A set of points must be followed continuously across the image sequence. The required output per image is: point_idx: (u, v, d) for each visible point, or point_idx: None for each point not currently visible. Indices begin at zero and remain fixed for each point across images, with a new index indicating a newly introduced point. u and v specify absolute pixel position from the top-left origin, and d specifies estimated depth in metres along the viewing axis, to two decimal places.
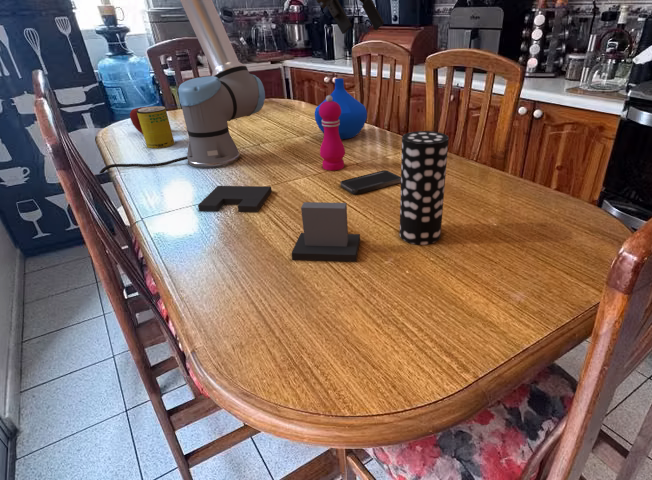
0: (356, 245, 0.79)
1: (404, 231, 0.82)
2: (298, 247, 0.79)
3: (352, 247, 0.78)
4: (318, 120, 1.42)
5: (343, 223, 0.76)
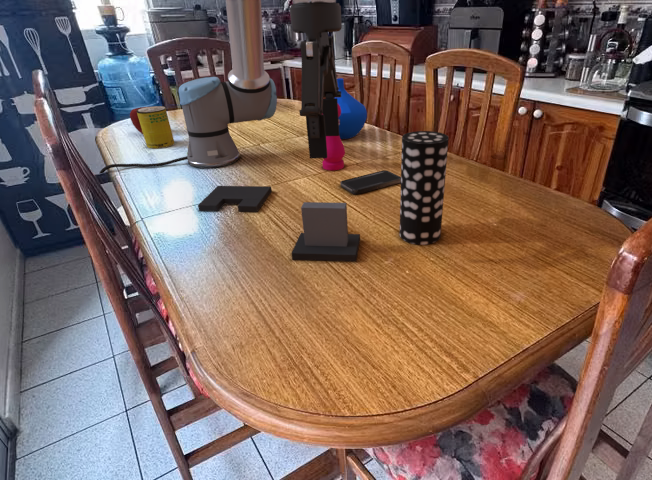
0: (356, 245, 0.79)
1: (404, 231, 0.82)
2: (298, 247, 0.79)
3: (352, 247, 0.78)
4: None
5: (343, 223, 0.76)
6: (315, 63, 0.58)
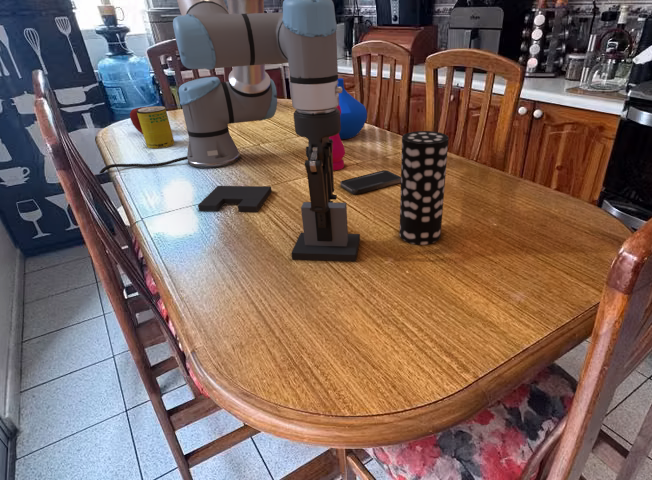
0: (356, 245, 0.79)
1: (404, 231, 0.82)
2: (298, 246, 0.79)
3: (351, 247, 0.78)
4: None
5: (343, 223, 0.76)
6: (319, 177, 0.67)
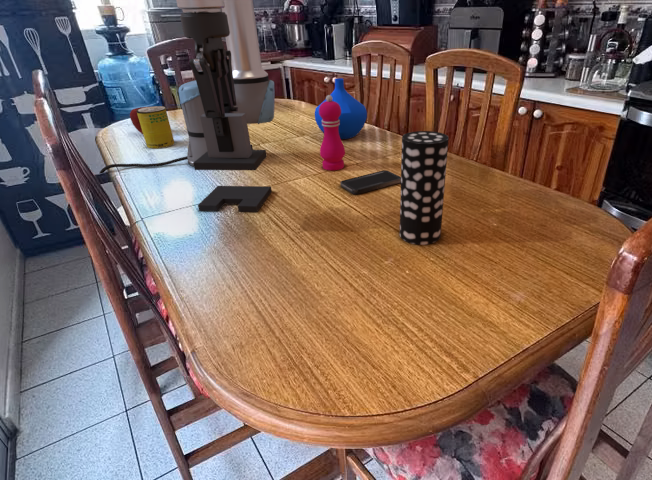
0: (258, 157, 0.82)
1: (404, 231, 0.82)
2: (202, 158, 0.81)
3: (253, 158, 0.81)
4: (318, 120, 1.42)
5: (242, 132, 0.79)
6: (206, 78, 0.70)
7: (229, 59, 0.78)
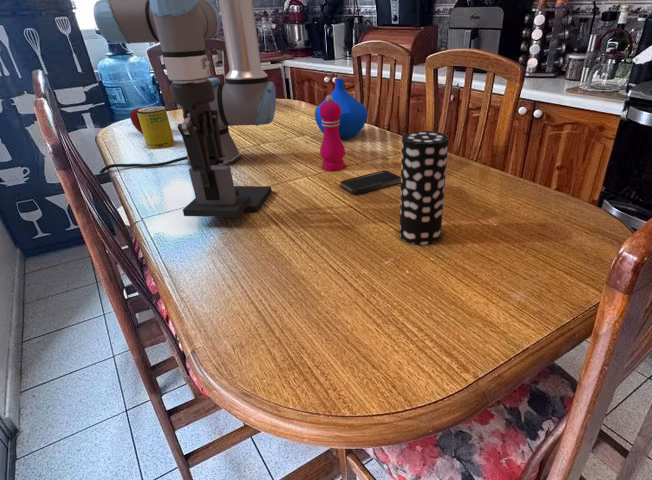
0: (241, 204, 0.90)
1: (404, 231, 0.82)
2: (190, 205, 0.90)
3: (237, 205, 0.89)
4: (318, 120, 1.42)
5: (226, 183, 0.87)
6: (193, 139, 0.78)
7: (216, 117, 0.86)
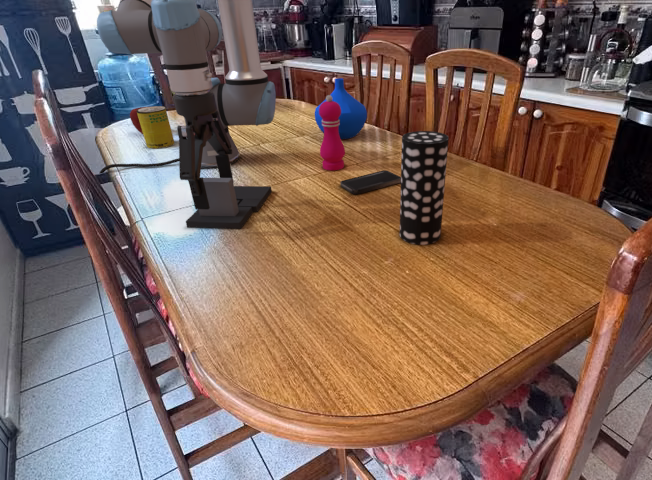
0: (244, 215, 0.91)
1: (404, 231, 0.82)
2: (193, 216, 0.91)
3: (239, 217, 0.90)
4: (318, 120, 1.42)
5: (229, 195, 0.88)
6: (189, 142, 0.77)
7: (218, 118, 0.87)
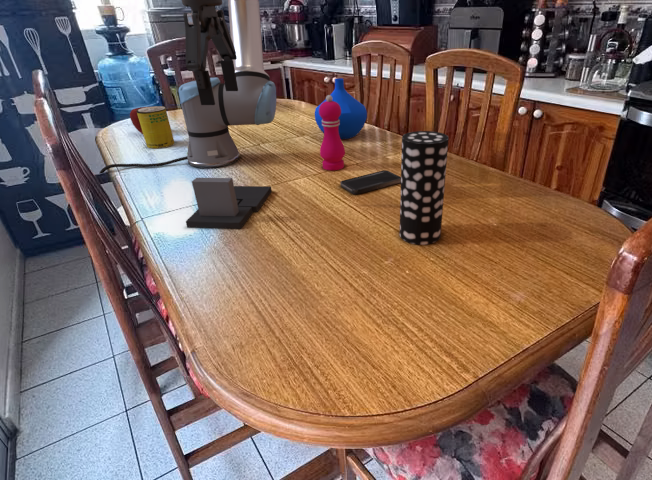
0: (244, 215, 0.91)
1: (404, 231, 0.82)
2: (193, 216, 0.91)
3: (239, 217, 0.90)
4: (318, 120, 1.42)
5: (229, 195, 0.88)
6: (195, 30, 0.78)
7: (223, 19, 0.89)
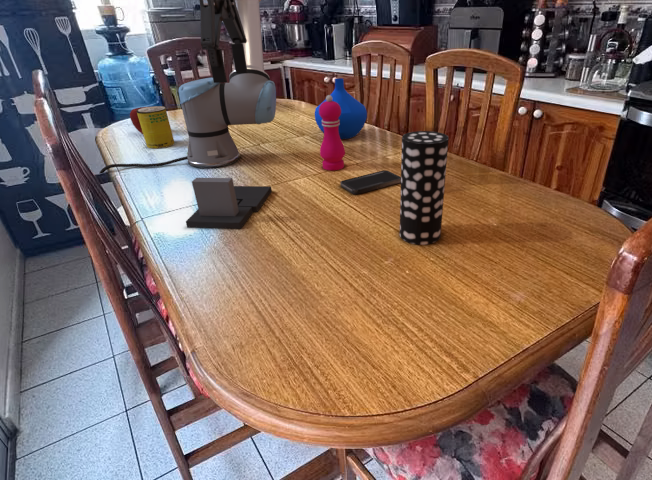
0: (244, 215, 0.91)
1: (404, 231, 0.82)
2: (193, 216, 0.91)
3: (239, 217, 0.90)
4: (318, 120, 1.42)
5: (229, 195, 0.88)
6: (210, 10, 0.83)
7: (234, 3, 0.94)
